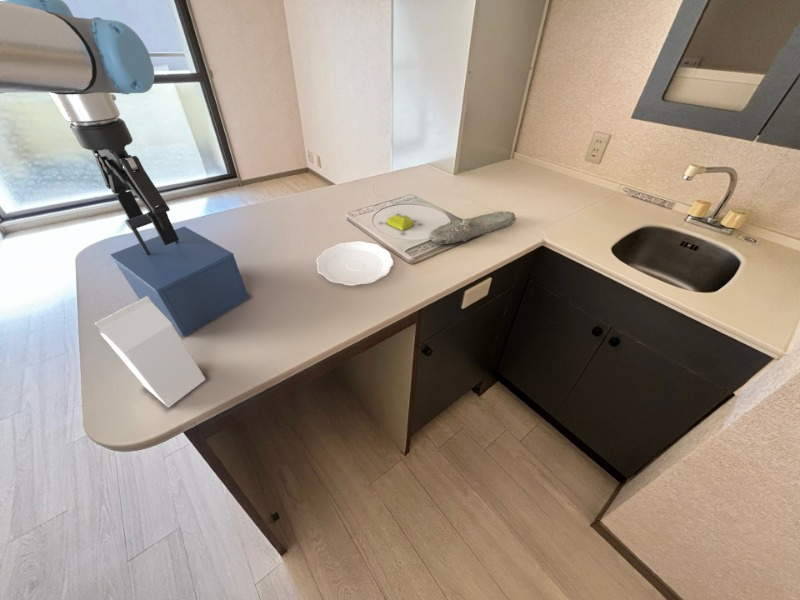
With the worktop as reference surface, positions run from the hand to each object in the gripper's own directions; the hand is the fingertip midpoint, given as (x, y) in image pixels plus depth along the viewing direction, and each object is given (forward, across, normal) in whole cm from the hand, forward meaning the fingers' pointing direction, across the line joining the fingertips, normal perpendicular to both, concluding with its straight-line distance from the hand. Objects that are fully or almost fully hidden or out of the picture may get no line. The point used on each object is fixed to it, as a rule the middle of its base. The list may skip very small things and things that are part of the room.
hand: (154, 231), depth 69 cm
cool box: (+17, -4, 0) cm, 17 cm away
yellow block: (+17, -22, -62) cm, 68 cm away
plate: (+17, -25, -34) cm, 46 cm away
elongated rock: (+17, -43, -73) cm, 86 cm away
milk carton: (+17, -24, +15) cm, 33 cm away
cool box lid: (+5, -4, 0) cm, 6 cm away
